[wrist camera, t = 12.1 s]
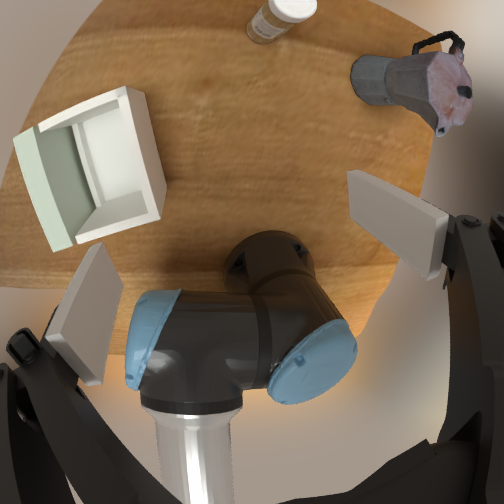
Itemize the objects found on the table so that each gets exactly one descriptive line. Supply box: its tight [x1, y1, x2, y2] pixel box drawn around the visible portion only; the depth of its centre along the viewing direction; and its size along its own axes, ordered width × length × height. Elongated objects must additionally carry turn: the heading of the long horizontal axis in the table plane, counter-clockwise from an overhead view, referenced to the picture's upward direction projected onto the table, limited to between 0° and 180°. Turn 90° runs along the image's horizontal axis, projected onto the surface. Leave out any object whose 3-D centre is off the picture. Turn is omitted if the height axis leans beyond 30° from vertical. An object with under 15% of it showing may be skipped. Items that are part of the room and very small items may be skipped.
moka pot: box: [351, 31, 473, 137], centre depth 27 cm, size 10×15×20 cm, turn 172°
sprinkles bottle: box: [246, 0, 317, 44], centre depth 24 cm, size 5×5×13 cm
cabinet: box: [38, 86, 168, 244], centre depth 28 cm, size 14×15×12 cm
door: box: [13, 125, 96, 252], centre depth 28 cm, size 14×4×12 cm, turn 10°
